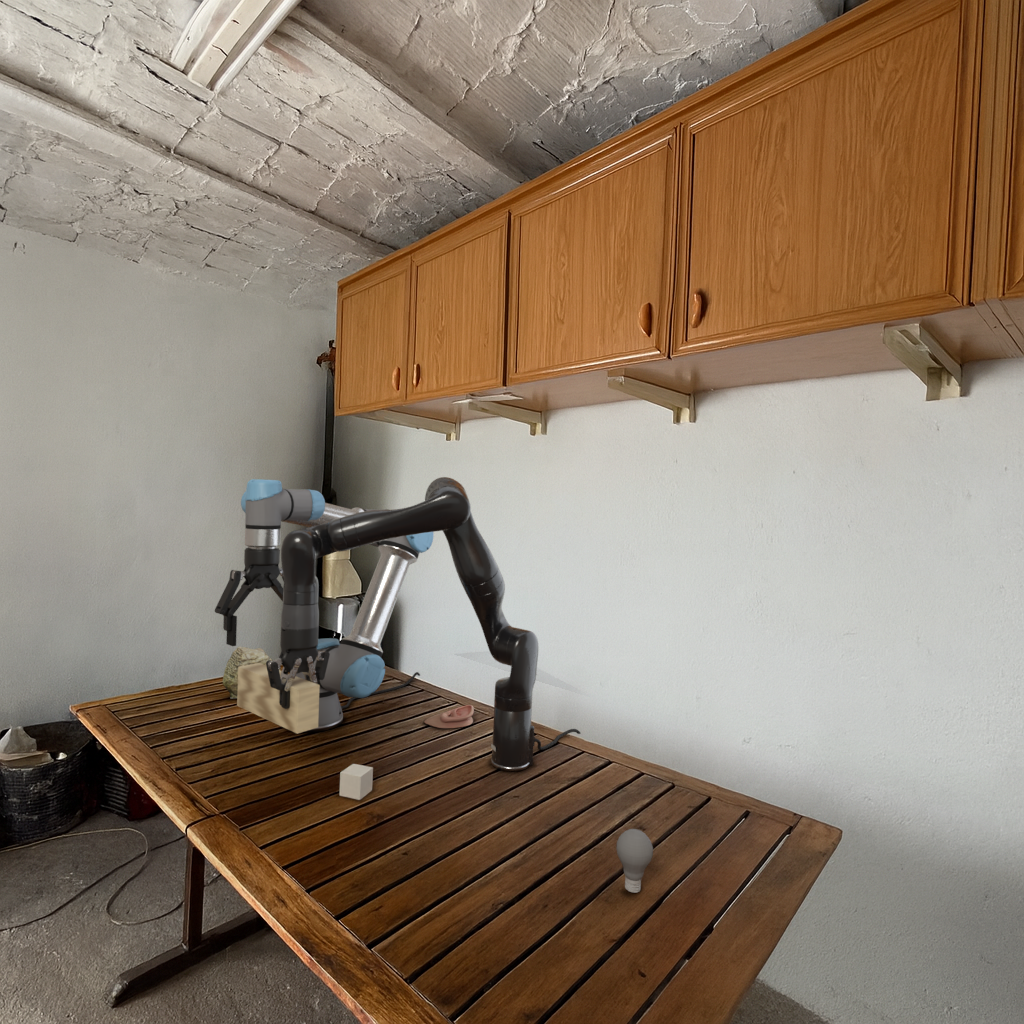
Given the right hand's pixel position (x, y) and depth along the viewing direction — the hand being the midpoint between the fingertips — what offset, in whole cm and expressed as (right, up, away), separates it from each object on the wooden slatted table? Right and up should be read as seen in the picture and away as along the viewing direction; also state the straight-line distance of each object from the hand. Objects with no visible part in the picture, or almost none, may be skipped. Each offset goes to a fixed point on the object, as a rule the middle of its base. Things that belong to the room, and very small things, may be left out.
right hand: (297, 704), depth 133 cm
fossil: (-35, -17, +65) cm, 76 cm away
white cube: (+12, -20, +3) cm, 23 cm away
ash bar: (-6, -4, +5) cm, 9 cm away
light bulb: (+65, -23, -27) cm, 74 cm away
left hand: (-12, +11, +11) cm, 20 cm away
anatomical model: (+27, -20, +48) cm, 59 cm away
